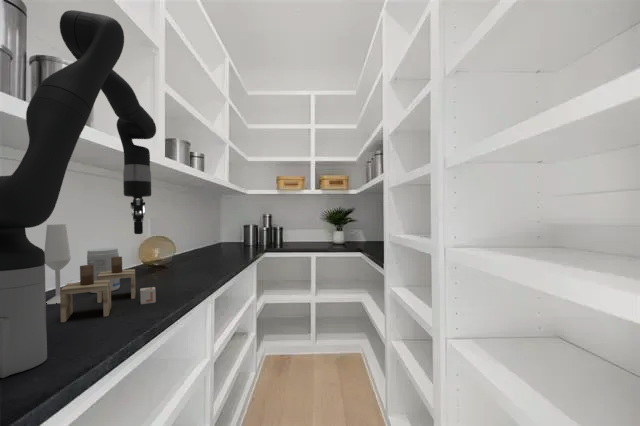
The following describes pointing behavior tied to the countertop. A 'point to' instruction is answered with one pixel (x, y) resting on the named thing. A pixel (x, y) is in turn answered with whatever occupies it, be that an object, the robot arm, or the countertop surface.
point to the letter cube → (148, 295)
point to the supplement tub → (103, 263)
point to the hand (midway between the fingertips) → (138, 233)
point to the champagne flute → (56, 254)
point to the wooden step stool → (84, 286)
